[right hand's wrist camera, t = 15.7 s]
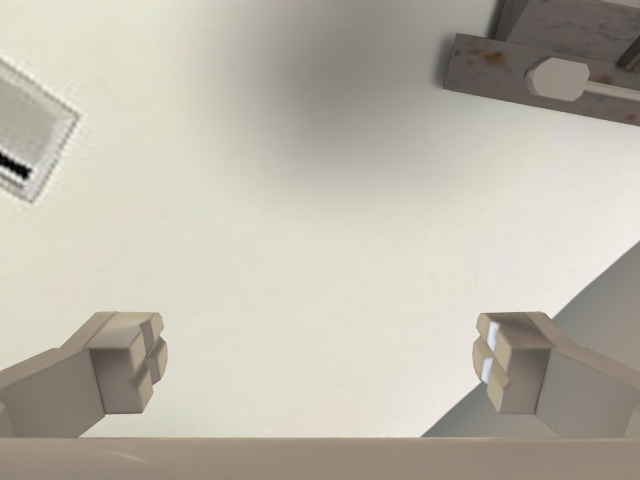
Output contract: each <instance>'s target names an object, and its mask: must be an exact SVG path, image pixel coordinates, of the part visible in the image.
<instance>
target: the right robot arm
mask: <svg viewBox="0 0 640 480" xmlns="http://www.w3.org/2000/svg"><path fill="white" fill-rule="evenodd" d="M163 328H164V326H163V321H162V316H161V315H160V314H159V313H152V312H97V313H95V314H94V315H93V316H92V317H91V318H90V319H89V320H88V321H87V322H86V323H85V324H84V325H83V326H82V327H81V328H80V329H79V330H78V331H77V332H76V333H75V334H73V335H72V336H71V337H70V338H69V339H68V340H67V341H66V342H65V343H64V344H63V345H62V346H61V347H60V348H52V349H50V350H48V351H45V352H43V353H41V354H39V355H36V356H34V357H32V358H29V359H27V360H25V361H22V362H20V363H18V364H16V365H13V366H11V367H9V368H6V369H4V370H2V371H0V480H640V371H638V370H636V369H633V368H631V367H629V366H627V365H624V364H622V363H620V362H617V361H615V360H613V359H611V358H608V357H606V356H604V355H601V354H599V353H597V352H595V351H592V350H590V349H588V348H580V347H579V346H578V345H577V344H576V343H575V342H574V341H573V340H572V339H571V338H570V337H569V336H568V335H567V334H566V333H565V332H563V331H562V330H561V329H560V328H559V327H558V326H557V325H556V324H555V323H554V322H553V321H552V320H551V319H550V318H549V317H548V316H547V315H546V314H545V313H543V312H540V311H538V312H505V313H480V315H479V317H478V320H477V326H476V328H477V330H478V331H479V333H480V335H481V336H480V337H479V338H478V339H477V340H476V341H475V342H474V345H473V353H472V356H473V365H474V369H475V372H476V374H477V376H478V378H479V380H480V381H482V382H483V383H485V384H487V385H488V388H487V394H488V396H489V398H490V400H491V402H492V403H493V405H494V407H495V409H496V410H497V412H498V413H502V414H535V417H537V418H538V419H539V420H541V421H542V422H543V423H544V424H546V425H547V426H548V427H550V428H551V429H552V430H553V431H555V432H556V433H557V434H559V435H560V436H561V437H562V438H78V437H79V436H80V435H82V434H83V433H84V432H85V431H87V430H88V429H89V428H91V427H92V426H93V425H94V424H96V423H97V422H98V421H100V420H101V419H102V418H103V417H105V414H137V413H142V412H143V411H144V409H145V407H146V405H147V403H148V402H149V400H150V398H151V396H152V394H153V388H152V385H154V384H155V383H157V382H158V381H160V380H161V378H162V376H163V374H164V372H165V368H166V364H167V344H166V342H165V341H164V340H163V339H162V338H161V337H160V336H159V335H160V333H161V331H162V330H163Z"/></svg>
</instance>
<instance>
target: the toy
mask: <svg viewBox="0 0 640 480" xmlns="http://www.w3.org/2000/svg"><path fill="white" fill-rule="evenodd" d="M443 89H446V90H451V91H456V92H462V93H467V94H472V95H477V96H483V97H488V98H493V99H499V100H504V101H509V102H514V103H520V104H525V105H530V106H535V107H541V108H546V109H551V110H557V111H562V112H567V113H572V114H578V115H583V116H588V117H594V118H599V119H604V120H609V121H615V122H620V123H625V124H631V125H636V126H640V0H506V1H505V4H504V8H503V11H502V14H501V18H500V21H499V25H498V28H497V31H496V35H495V38H494V40H492V39H487V38H482V37H477V36H471V35H465V34H458V33H457V36H456V39H455V43H454V47H453V51H452V54H451V58H450V62H449V65H448V69H447V73H446V77H445V80H444V84H443Z"/></svg>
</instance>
